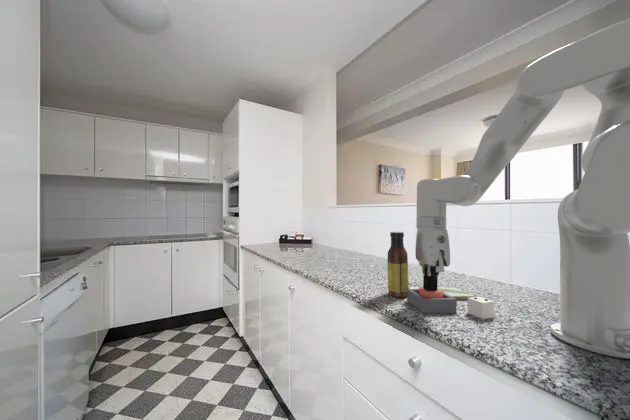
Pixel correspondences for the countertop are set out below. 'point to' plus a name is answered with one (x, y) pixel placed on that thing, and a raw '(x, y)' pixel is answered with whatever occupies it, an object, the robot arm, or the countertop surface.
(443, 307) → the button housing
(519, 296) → the countertop surface
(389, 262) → the sauce bottle
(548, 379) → the countertop surface
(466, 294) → the board
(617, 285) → the robot arm
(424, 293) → the dome button
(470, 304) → the die
